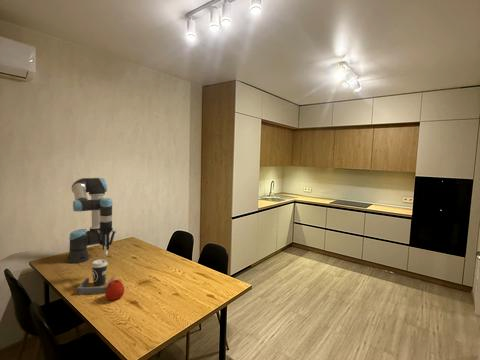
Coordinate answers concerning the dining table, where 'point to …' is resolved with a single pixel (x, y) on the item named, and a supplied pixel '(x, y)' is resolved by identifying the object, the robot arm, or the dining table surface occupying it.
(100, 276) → the coffee cup
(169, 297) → the dining table surface
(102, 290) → the bay
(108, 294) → the apple
